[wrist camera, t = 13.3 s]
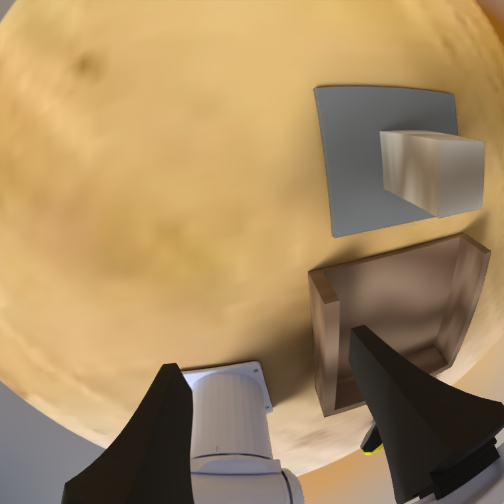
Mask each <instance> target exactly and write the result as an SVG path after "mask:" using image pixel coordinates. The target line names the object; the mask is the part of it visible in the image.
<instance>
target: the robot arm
mask: <svg viewBox="0 0 504 504" xmlns="http://www.w3.org/2000/svg"><path fill="white" fill-rule="evenodd" d="M348 361H349V364H350V367H351V370H352V373H353V376H354V378H355V381H356V383H357V385H358V387H359V389H360V391H361V393H362V395H363V397H364V400H365V402H366V404H367V406H368V408H369V410H370V412H371V414H372V416H373V418H374V420H375V423H376V425H377V428H378V431H379V434H380V437H381V440H382V443H383V446H384V450H385V453H386V457H387V461H388V464H389V469H390V473H391V478H392V482H393V488H394V494H395V500H396V503H397V504H404V503H406V502H408V501H410V500H412V499H414V498H416V497H418V496H419V498H420V500H419V501H417V502H415V503H413V504H503V503H504V443H503V444H501V445H500V446H499V447H498V448H497V449H496V447H495V444H496V443H497V440H496V438H495V437H494V436H495V435H496V434H498V433H499V432H500V431H501V430H502V428H504V405H503V404H502V403H501V402H497V401H493V400H489V399H485V398H481V397H478V396H475V395H472V394H469V393H466V392H464V391H461V390H459V389H457V388H454V387H452V386H450V385H448V384H446V383H444V382H442V381H440V380H438V379H436V378H435V377H433V376H431V375H429V374H428V373H426V372H425V371H423V370H421V369H420V368H418V367H417V366H416V365H414V364H413V363H411V362H410V361H408V360H407V359H406V358H404V357H403V356H402V355H401V354H399V353H398V352H397V351H395V350H394V349H393V348H392V347H390V346H389V345H388V344H387V343H386V342H384V341H383V340H382V339H381V338H380V337H378V336H377V335H376V334H375V333H374V332H373V331H372V330H370V329H369V328H368V327H367V326H366V325H361V326H357V327H354V328H351V331H350V345H349V357H348ZM272 412H273V409H272V405H271V402H270V398H269V394H268V391H267V387H266V383H265V380H264V376H263V372H262V369H261V365H260V363H259V362H257V361H253V362H247V363H241V364H235V365H229V366H223V367H216V368H209V369H201V370H193V371H184V372H181V370H180V369H179V367H178V365H177V363H171V364H163V365H162V367H161V368H160V370H159V372H158V374H157V375H156V377H155V379H154V381H153V383H152V384H151V386H150V388H149V390H148V391H147V393H146V395H145V397H144V398H143V400H142V402H141V403H140V405H139V407H138V408H137V410H136V411H135V413H134V414H133V416H132V417H131V419H130V420H129V422H128V423H127V425H126V426H125V428H124V429H123V430H122V432H121V433H120V434H119V435H118V437H117V438H116V439H115V440H114V441H113V443H112V444H111V445H110V446H109V447H108V448H107V449H106V450H105V451H104V452H103V453H102V454H101V456H100V457H98V458H97V459H96V460H95V461H94V462H93V463H92V464H91V465H90V466H88V467H87V468H86V469H85V470H83V471H82V472H81V473H79V474H78V475H77V476H75V477H74V478H72V479H71V480H70V481H68V482H66V483H65V486H64V491H63V496H62V502H61V504H304V496H303V491H302V487H301V484H300V482H299V480H298V478H297V477H296V476H295V475H294V474H293V473H292V472H291V471H290V470H288V469H285V468H283V469H281V465H280V460H279V459H278V460H273V456H272V450H271V443H270V437H269V430H268V423H267V417H266V414H269V413H272Z"/></svg>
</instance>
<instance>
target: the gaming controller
mask: <svg viewBox="0 0 504 504" xmlns="http://www.w3.org/2000/svg"><path fill="white" fill-rule="evenodd" d="M360 447H361V450H362V451H363V453H364V454H365V455H371V454H373V453H375V452H377V451H379V450H380V449H381V448H382V447H383V443H382V440H381V437H380V434H379V431H378V428H377V425H376V423H375V421H374V423H373V425H372V427H371V428H370V430H369V431H368V432H367V434H366V435H365V437H364V440H363V442H362V444H361V446H360Z"/></svg>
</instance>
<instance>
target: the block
mask: <svg viewBox="0 0 504 504" xmlns="http://www.w3.org/2000/svg"><path fill="white" fill-rule="evenodd" d="M380 140H381V151H382V165H383V183H384V189H385V190H387V191H389V192H391V193H393V194H395V195H397V196H399V197H401V198H403V199H405V200H407V201H409V202H411V203H412V204H414V205H416V206H418V207H420V208H422V209H423V210H425V211H427V212H429V213H431V214H432V215H434V216H436V217H438V218H442V217H446V216H451V215H456V214H460V213H465V212H469V211H474V210H478V209H482V201H483V188H484V141H480V140H475V139H471V138H466V137H461V136H456V135H450V134H444V133H438V132H432V131H425V130H401V131H380Z"/></svg>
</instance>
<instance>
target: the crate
mask: <svg viewBox="0 0 504 504" xmlns="http://www.w3.org/2000/svg"><path fill="white" fill-rule="evenodd" d="M490 255H491V251H490V250H489V249H487V248H486V247H484V246H483V245H481V244H480V243H478V242H477V241H475V240H474V239H472V238H471V237H469V236H468V235H466V234H465V233H461V234H458V235H454V236H451V237H447V238H443V239H440V240H436V241H432V242H429V243H425V244H421V245H417V246H413V247H410V248H406V249H402V250H398V251H394V252H390V253H386V254H382V255H378V256H374V257H370V258H366V259H362V260H357V261H353V262H349V263H345V264H340V265H336V266H332V267H327V268H323V269H319V270H314V271H310V272H308V278H309V289H310V302H311V315H312V330H313V347H314V369H315V389H316V392H317V396H318V399H319V402H320V405H321V408H322V412H323V415H324V417H328V416H331V415H335V414H338V413H342V412H345V411H348V410H351V409H354V408H357V407H360V406H363V405H366V402H365V400H364V397H363V395H362V393H361V391H360V389H359V387H358V385H357V383H356V381H355V378H354V376H353V373H352V370H351V367H350V364H349V361H348V357H349V345H350V331H351V328H354V327H357V326H361V325H366V326H367V327H368V328H369V329H370V330H372V331H373V332H374V333H375V334H376V335H377V336H378V337H380V338H381V339H382V340H383V341H384V342H386V343H387V344H388V345H389V346H390V347H392V348H393V349H394V350H395V351H397V352H398V353H399V354H401V355H402V356H403V357H404V358H406V359H407V360H408V361H410V362H411V363H413V364H414V365H416V366H417V367H418V368H420V369H421V370H423V371H425V372H426V373H428V374H429V375H431V376H435V375H437V374H439V373H441V372H443V371H445V370H447V369H448V368H450V367H452V365H453V363H454V361H455V358H456V356H457V354H458V352H459V350H460V347H461V345H462V343H463V340H464V338H465V336H466V333H467V331H468V328H469V325H470V323H471V320H472V317H473V314H474V312H475V309H476V306H477V303H478V300H479V296H480V293H481V290H482V286H483V283H484V279H485V276H486V272H487V268H488V264H489V259H490Z"/></svg>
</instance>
